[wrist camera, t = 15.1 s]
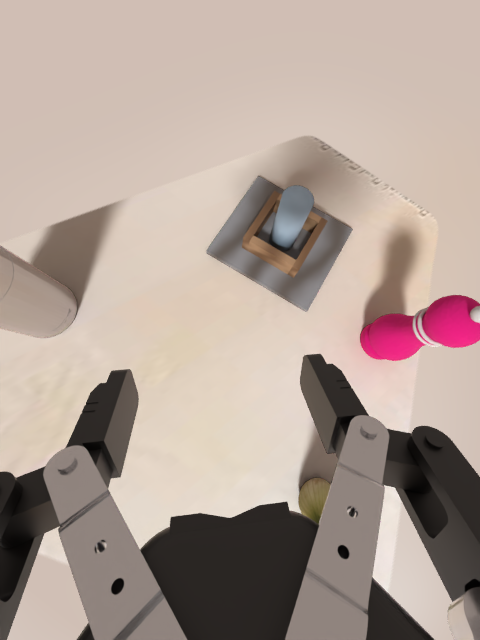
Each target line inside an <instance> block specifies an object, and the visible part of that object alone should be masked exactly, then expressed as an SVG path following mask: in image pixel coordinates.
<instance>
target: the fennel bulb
mask: <svg viewBox="0 0 480 640" xmlns="http://www.w3.org/2000/svg"><path fill="white" fill-rule="evenodd" d="M330 485H331V484H330V483H328V482H327V481H326V480H324V479H322V478H312V479H310V480H308V481H306V482H305V484H304V485H303V486H302V488H301V490H300V493H299V507H300V510H301V513H302V514H303V515H305V516H307V517H309V518H310V519H312V520H313V521H315V522H316V523H317V524H319V521H320V518H321V515H322V512H323V508H324V505H325V502H326V499H327V495H328V492H329V489H330Z"/></svg>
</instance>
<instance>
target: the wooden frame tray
mask: <svg viewBox="0 0 480 640" xmlns="http://www.w3.org/2000/svg"><path fill="white" fill-rule="evenodd" d="M283 192H284V190H283V189H281V188H279V187H277V186H276V185H274V184H272V183H270V182H269V181H267V180H265V179H263V178H261V177H260V176H258V177H257V179H256V180H255V181H254V183H253V184H252V186H251V187H250V189H249V190H248V192H247V193H246V194H245V196H244V197H243V199H242V200H241V202H240V203H239V204H238V206H237V207H236V209H235V210H234V212H233V213H232V215H231V216H230V217H229V219H228V220H227V222H226V223H225V225H224V226H223V227H222V229H221V230H220V232H219V233H218V235H217V236H216V238H215V239H214V240H213V242H212V243H211V245H210V246H209V248H208V249H207V250H206V252H207V254H209V255H210V256H212V257H214V258H216V259H217V260H219V261H221V262H222V263H224V264H226V265H227V266H229V267H231V268H232V269H234V270H236V271H238V272H239V273H241V274H243V275H244V276H246V277H248V278H249V279H251V280H253V281H255V282H256V283H258V284H260V285H261V286H263V287H265V288H266V289H268V290H270V291H272V292H273V293H275V294H277V295H278V296H280V297H282V298H283V299H285V300H287V301H289V302H290V303H292V304H294V305H295V306H297V307H299V308H300V309H302V310H304V311H308V309H309V307H310V305H311V304H312V302H313V300H314V298H315V296H316V295H317V293H318V291H319V289H320V287H321V286H322V284H323V282H324V280H325V278H326V277H327V275H328V273H329V271H330V269H331V268H332V266H333V264H334V262H335V260H336V259H337V257H338V255H339V253H340V251H341V250H342V248H343V246H344V244H345V242H346V241H347V239H348V237H349V235H350V233H351V232H352V230H353V229H352V228H350V227H348V226H346V225H345V224H343V223H341V222H339V221H338V220H336V219H334V218H332V217H330V216H329V215H327V214H325V213H323V212H322V211H320V210H318V209H316V208H315V207H312V209H311V211H310V213H309V215H308V217H307V219H306V221H305V223H304V225H303V227H302V229H301V231H300V233H299V235H298V237H297V239H296V241H295V243H294V245H293V247H292V248H291V249H290V250H288V251H285V252H281V251H280V250H278V249H276V248H275V247H273V246H271V244H270V241H269V237H270V234H271V230H272V227H273V224H274V220H275V217H276V214H277V210H278V207H279V204H280V201H281V197H282V194H283Z"/></svg>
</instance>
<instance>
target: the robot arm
mask: <svg viewBox="0 0 480 640" xmlns="http://www.w3.org/2000/svg"><path fill="white" fill-rule="evenodd" d="M76 312H77V301H76V298H75V296H74V294H73V293H72V291H71V290H70V289H69V288H67V287H66V286H64V285H63V284H61V283H60V282H58V281H56V280H55V279H53V278H52V277H50V276H49V275H47V274H45V273H44V272H42V271H41V270H39V269H37V268H36V267H34V266H33V265H31V264H29V263H28V262H26V261H25V260H23V259H21V258H20V257H18V256H17V255H15V254H13V253H12V252H10V251H8V250H7V249H5V248H4V247H2V246H0V329H4V330H8V331H12V332H16V333H20V334H24V335H28V336H33V337H38V338H49V337H52V336H56V335H58V334H60V333H62V332H63V331H64V330H66V329H67V328H68V327H69V326H70V325H71V323H72V322H73V320H74V318H75V315H76ZM300 385H301V390H302V393H303V395H304V398H305V400H306V403H307V405H308V408H309V410H310V413H311V415H312V418H313V420H314V423H315V425H316V428H317V430H318V433H319V435H320V438H321V440H322V443H323V445H324V448H325V450H326V453H327V454H329V453H336V455H337V457H338V462H337V466H336V469H335V472H334V476H333V479H332V482H331V485H330V489H329V492H328V495H327V499H326V502H325V505H324V508H323V512H322V515H321V518H320V521H319V524H317V523H316V522H315V521H313V520H312V519H310V518H309V517H307V516H305V515H303V514H300V513H297V512H294V511H289V507H288V503H287V502H282V503H274V504H266V505H259V506H257V507H255V508H253V509H250V510H248V511H246V512H244V513H242V514H239V515H237V516H235V517H232V518H226V517H220V516H214V515H208V514H202V513H198V514H191V515H183V516H176V517H171V521H170V527H168V528H166V529H164V530H163V531H161V532H159V533H158V534H156V535H155V536H154V537H152V538H151V539H150V540H149V541H148V542H147V543H146V544H145V545H144V546H143V547H142V548H141V549H139V547H138V545H137V543H136V542H135V540H134V538H133V536H132V534H131V532H130V530H129V528H128V526H127V524H126V523H125V521H124V519H123V517H122V515H121V513H120V511H119V509H118V507H117V505H116V504H115V502H114V500H113V498H112V496H111V494H110V492H109V490H108V487H109V483H110V479H111V478H117V477H121V473H122V469H123V465H124V461H125V457H126V453H127V449H128V445H129V440H130V436H131V432H132V428H133V424H134V420H135V416H136V412H137V408H138V392H137V389H136V385H135V382H134V378H133V375H132V372H131V370H130V369H127V370H115V371H111V373H110V375H109V378H108V380H107V382H106V383H100V384H99V385H98V386H97V387H96V388H95V389H94V390H93V391H92V392H91V393H90V395H89V398H88V400H87V402H86V405H85V406H84V409H83V411H82V414H81V415H80V418H79V420H78V422H77V424H76V426H75V429H74V431H73V433H72V435H71V438H70V440H69V442H68V444H67V446H66V448H65V449H63V450H61V451H59V452H58V453H56V454H55V455H54V456H53V457H52V458H51V459H50V460H49V462H48V463H47V465H46V466H45V467H43V468H40V469H38V470H35V471H33V472H30V473H27V474H25V475H22V476H20V477H17V478H15V477H14V475H13V474H11V473H9V472H0V640H7V637H8V635H9V632H10V629H11V626H12V623H13V620H14V618H15V615H16V612H17V609H18V606H19V604H20V601H21V598H22V595H23V592H24V589H25V587H26V583H27V581H28V578H29V575H30V573H31V569H32V567H33V564H34V561H35V558H36V556H37V553H38V550H39V547H40V544H41V541H42V539H43V536H44V533H46V532H48V531H50V530H52V529H55V528H57V527H59V526H60V528H59V529H58V531H59V536H60V539H61V542H62V545H63V548H64V551H65V554H66V557H67V560H68V563H69V565H70V568H71V571H72V574H73V577H74V580H75V583H76V586H77V589H78V592H79V595H80V598H81V601H82V604H83V607H84V610H85V613H86V616H87V619H88V621H89V623H88V624H87V626H86V627H85V629H84V630H83V631H82V633H81V634H80V636H79V637H78V639H77V640H434V639H433V638H432V637H431V636H430V635H429V634H428V633H427V632H426V631H425V630H424V629H423V628H422V627H421V626H420V625H419V624H418V623H417V622H416V621H415V620H414V619H413V618H412V617H411V616H410V615H409V614H408V613H407V612H406V611H405V610H404V609H403V608H402V607H401V606H400V605H399V604H398V603H397V602H396V601H395V600H394V599H393V598H392V597H391V596H390V595H389V594H388V593H387V592H386V591H385V590H384V589H383V588H382V587H381V586H380V585H379V584H378V583H377V582H376V581H375V580H374V579H373V578H372V574H373V567H374V561H375V554H376V547H377V540H378V533H379V526H380V519H381V512H382V505H383V499H384V489H385V488H384V485H386V486H391V487H395V488H396V490H397V492H398V494H399V496H400V498H401V500H402V502H403V504H404V506H405V508H406V510H407V512H408V514H409V516H410V518H411V520H412V522H413V524H414V526H415V528H416V530H417V532H418V534H419V536H420V538H421V540H422V542H423V544H424V546H425V548H426V550H427V552H428V554H429V556H430V558H431V560H432V562H433V564H434V566H435V568H436V570H437V572H438V574H439V576H440V578H441V580H442V582H443V584H444V586H445V588H446V590H447V592H448V594H449V596H450V598H451V600H452V603H451V604H450V606H449V609H448V623H449V627H450V630H451V633H452V636H453V639H454V640H480V477H479V475H478V474H477V473H476V472H475V470H474V469H473V468H472V466H471V465H470V464H469V463H468V461H467V460H466V459H465V457H464V456H463V455H462V453H461V452H460V451H459V450H458V448H457V447H456V446H455V444H454V443H453V442H452V441H451V439H450V438H448V436H446V435H445V434H444V433H442V432H441V431H439V430H437V429H435V428H432V427H428V426H419V427H416V428H415V429H414V430H413V432H412V434H411V433H405V432H400V431H394V430H390V429H387V428H386V427H385V426H384V425H383V424H382V423H381V422H380V421H378V420H377V419H375V418H373V417H370V416H369V415H368V414H367V412H366V410H365V409H364V407H363V405H362V404H361V402H360V400H359V399H358V397H357V396H356V394H355V392H354V391H353V389H352V388H351V386H350V384H349V382H348V381H347V379H346V378H345V376H344V374H343V373H342V371H341V370H340V369H338V368H337V367H336V366H335V365H333V364H326V362H325V360H324V358H323V357H322V355H321V354H313V355H304V357H303V363H302V370H301V376H300Z"/></svg>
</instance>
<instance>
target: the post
mask: <svg viewBox="0 0 480 640" xmlns="http://www.w3.org/2000/svg"><path fill="white" fill-rule="evenodd" d="M313 204H314V198H313V195H312V193H311V192H310V191H309V190H308V189H307V188H305V187H303V186H298V185H295V186H290V187H288V188H287V189H286V190H285V191H284V192H283V194H282V197H281V201H280V204H279V207H278V210H277V214H276V217H275V220H274V224H273V227H272V230H271V234H270V237H269V241H270V244H271V246H273V247H275V248H276V249H278V250H280V251H281V252H285V251H288V250H290V249H291V248H292V247H293V245H294V243H295V241H296V239H297V237H298V235H299V233H300V231H301V229H302V227H303V225H304V223H305V221H306V219H307V217H308V215H309V213H310V211H311V209H312V207H313Z"/></svg>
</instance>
